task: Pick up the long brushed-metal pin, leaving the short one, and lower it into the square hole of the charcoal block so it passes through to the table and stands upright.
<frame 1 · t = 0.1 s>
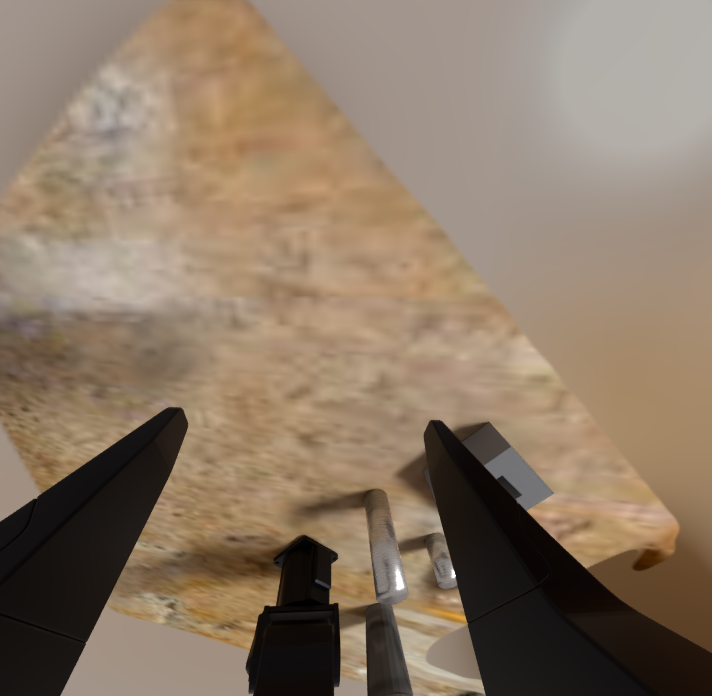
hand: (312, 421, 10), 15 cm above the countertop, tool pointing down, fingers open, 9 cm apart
long pin: (375, 497, 33), on the countertop
short pin: (434, 539, 37), on the countertop
beverage cup: (379, 609, 43), on the countertop
hole block: (477, 468, 33), on the countertop
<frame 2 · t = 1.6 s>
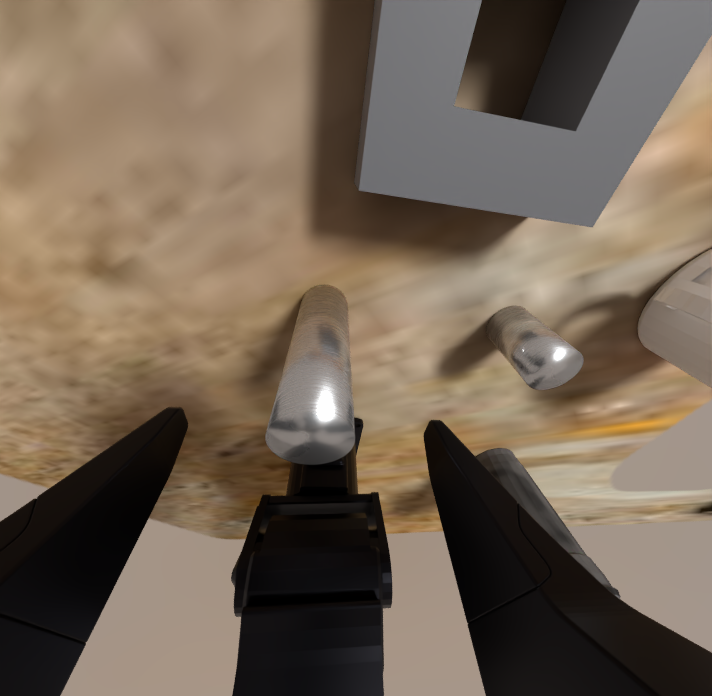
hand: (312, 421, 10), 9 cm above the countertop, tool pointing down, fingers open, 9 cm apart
long pin: (324, 306, 17), on the countertop
short pin: (507, 324, 18), on the countertop
beverage cup: (491, 458, 29), on the countertop
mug: (692, 289, 18), on the countertop
hole block: (490, 60, 11), on the countertop
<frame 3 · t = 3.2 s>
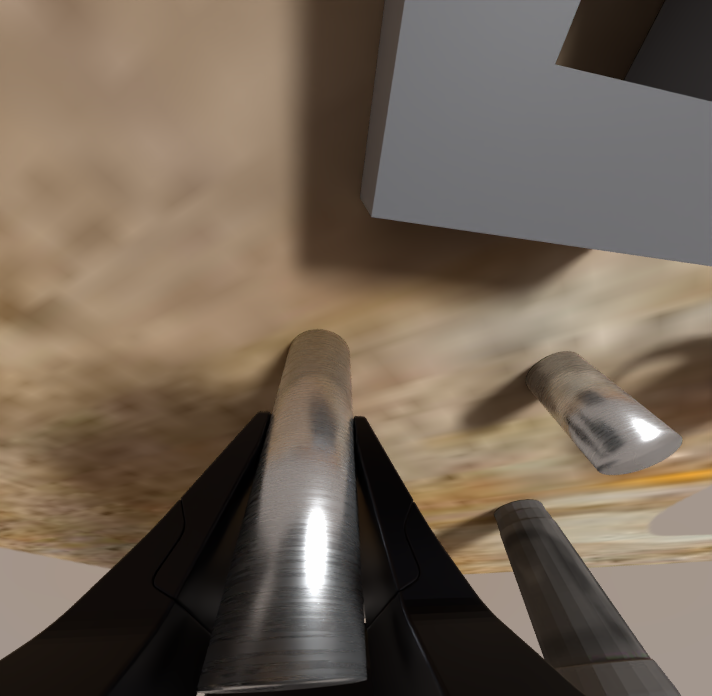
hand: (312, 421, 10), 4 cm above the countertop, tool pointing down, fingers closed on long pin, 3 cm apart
long pin: (319, 355, 13), on the countertop, touching gripper
short pin: (553, 373, 14), on the countertop
beverage cup: (516, 508, 25), on the countertop
hole block: (578, 6, 7), on the countertop
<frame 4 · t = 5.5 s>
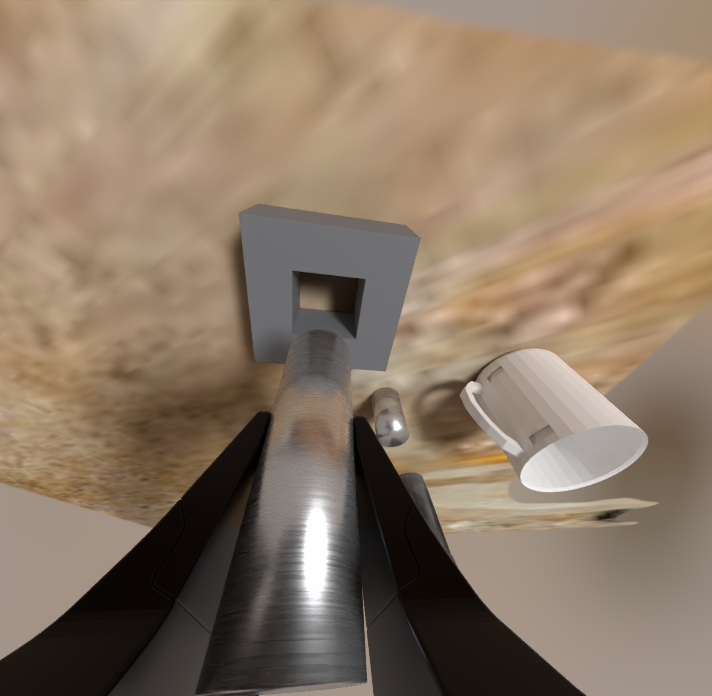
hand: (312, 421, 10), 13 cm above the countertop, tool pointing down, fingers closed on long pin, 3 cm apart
long pin: (319, 355, 13), point 9 cm above the countertop, touching gripper
short pin: (384, 397, 28), on the countertop
beverage cup: (407, 479, 39), on the countertop
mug: (502, 376, 27), on the countertop
hole block: (328, 285, 20), on the countertop
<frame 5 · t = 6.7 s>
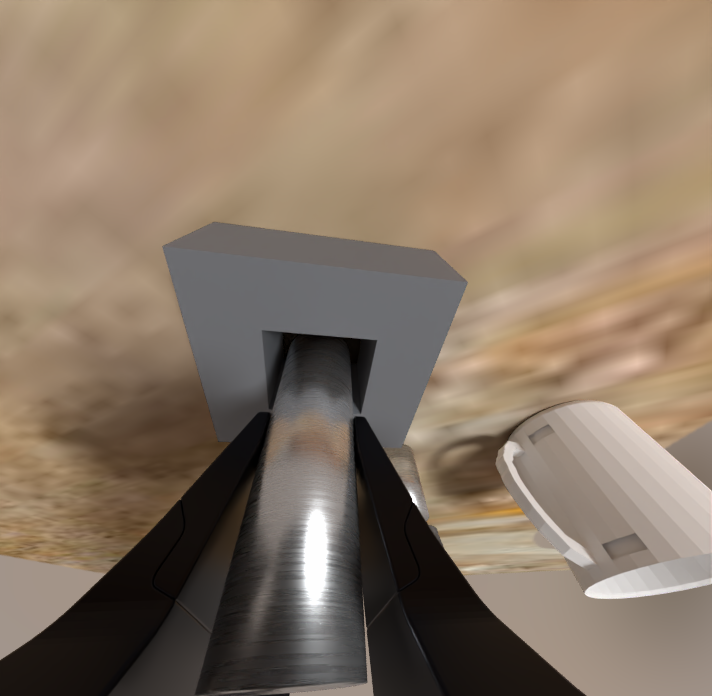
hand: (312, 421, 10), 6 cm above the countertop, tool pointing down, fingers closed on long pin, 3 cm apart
long pin: (319, 355, 13), point 2 cm above the countertop, touching gripper
short pin: (395, 454, 22), on the countertop
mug: (544, 429, 22), on the countertop
hole block: (323, 330, 15), on the countertop
when the fingers open (5 cm above the countertop, at t = 7.8 s): long pin drops 1 cm, resting in hole block.
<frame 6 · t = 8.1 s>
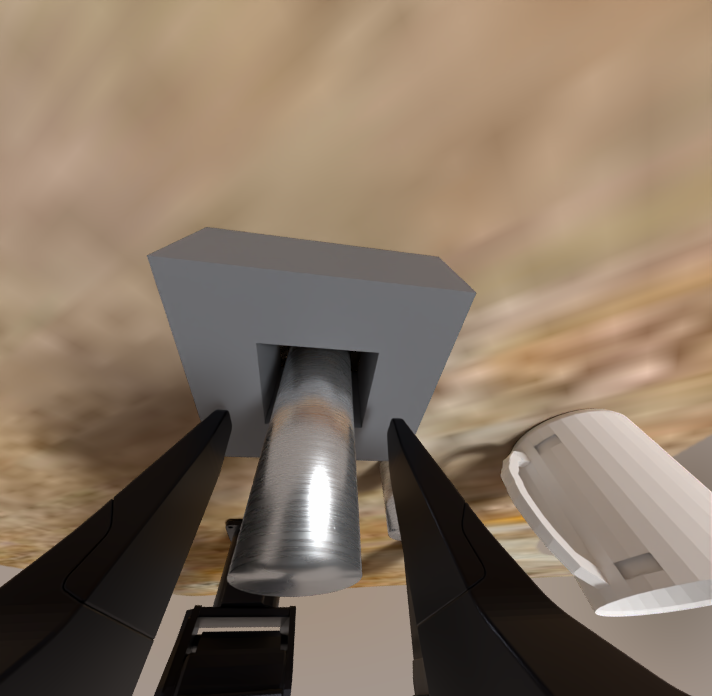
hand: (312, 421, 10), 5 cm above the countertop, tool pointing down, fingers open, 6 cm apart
long pin: (321, 338, 14), resting in hole block
short pin: (397, 463, 22), on the countertop
beverage cup: (420, 538, 32), on the countertop
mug: (550, 437, 21), on the countertop
hole block: (321, 338, 14), on the countertop
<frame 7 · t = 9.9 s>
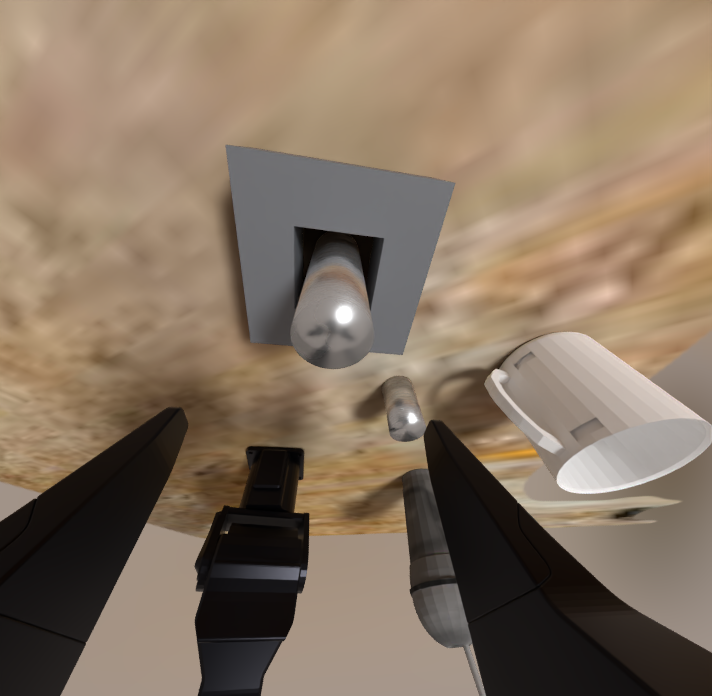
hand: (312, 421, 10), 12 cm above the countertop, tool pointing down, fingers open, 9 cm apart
long pin: (336, 254, 17), resting in hole block
short pin: (397, 387, 25), on the countertop
beverage cup: (417, 475, 36), on the countertop
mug: (529, 363, 24), on the countertop
hole block: (337, 253, 17), on the countertop
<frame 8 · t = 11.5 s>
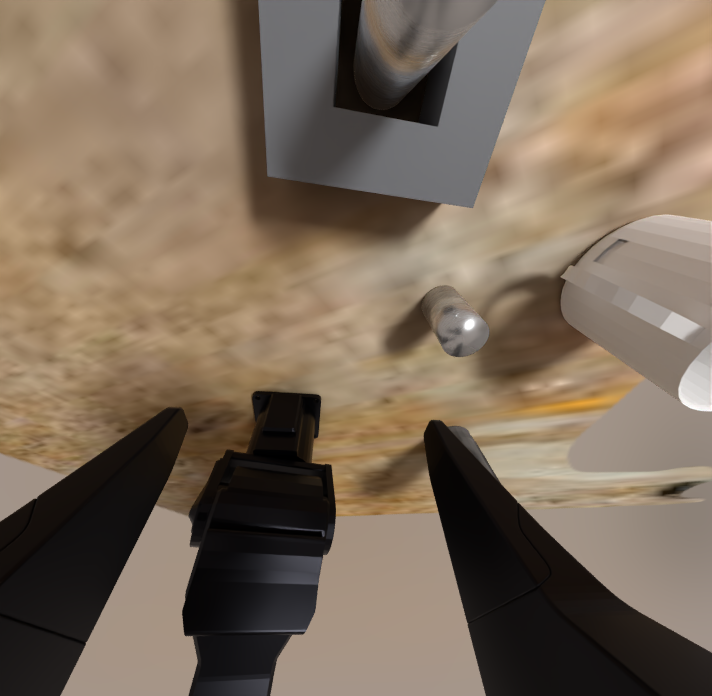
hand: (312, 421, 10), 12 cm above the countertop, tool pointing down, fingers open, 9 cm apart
long pin: (383, 69, 13), resting in hole block
short pin: (440, 303, 20), on the countertop
beverage cup: (449, 436, 31), on the countertop
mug: (604, 270, 20), on the countertop
hole block: (383, 68, 13), on the countertop
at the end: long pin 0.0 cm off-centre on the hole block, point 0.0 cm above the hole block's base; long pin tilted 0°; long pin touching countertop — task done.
